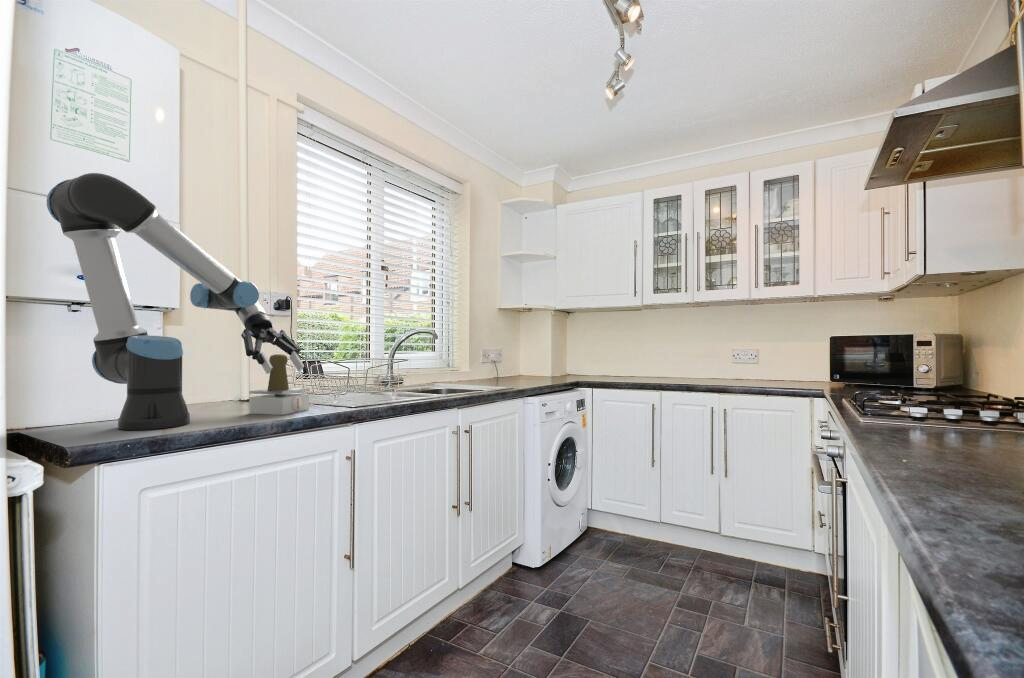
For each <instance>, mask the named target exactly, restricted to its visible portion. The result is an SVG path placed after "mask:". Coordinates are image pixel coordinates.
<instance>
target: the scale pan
mask: <svg viewBox="0 0 1024 678" xmlns="http://www.w3.org/2000/svg"><path fill="white" fill-rule="evenodd" d="M309 391H310V388H309V387H289V390H278V391H270V390H268V388H263V389H255V390H249V391H248V393H249V395H250V394H251V395H268V394H281V395H283V394H290V393H292V394H298V393H303V392H309Z"/></svg>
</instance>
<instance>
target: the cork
mask: <svg viewBox="0 0 1024 678" xmlns="http://www.w3.org/2000/svg"><path fill="white" fill-rule="evenodd" d="M268 360H269V362H270V364H271V365H272V367H273V368H272V370H271V371H270V373H269V376H268V377H269V378H268V384H267V389H268V390H270V391H278V390H289V388H290V387H289V379H288V373H287V367H286V366H287V363H288V357H287V355H286V354H282V353H281V354H279V353H278V354H277V353H275V354H272V355H270V357H269V359H268Z"/></svg>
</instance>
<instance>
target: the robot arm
mask: <svg viewBox="0 0 1024 678" xmlns="http://www.w3.org/2000/svg"><path fill="white" fill-rule="evenodd" d="M46 208H47V210H48V213H49V214H50V215H51V217H52V218H53V219H54V220H55V221H57V222H58V223H59V224H60V228H61V231H62V234H63V236H65V237H67V238H68V239H70V240H72V242H73V245H74V248H75V252H76V255H77V259H78V262H79V266H80V270H81V274H82V277H83V281H84V284H85V287H86V292H87V295H88V299H89V302H90V305H91V306H90V307H91V309H92V313H93V317H94V320H95V323H96V327H97V331H98V333H97V334H95V336H94V337H93V340H92V341H93V344H94V348H95V351H94V353H92V357H91V364H92V367H93V369H94V372H95V373H96V374H97V375H98V376H99V377H101V378H102V379H103V380H106V381H108V382H111V383H115V384H118V385H119V384H120V385H121V384H124V385H126V399H125V402H124V404H123V407H122V409H121V413H120V416H119V417H118V419H117V421H118V422H117V430H118V429H119V430H124V431H145V430H147V431H148V430H157V429H167V428H174V427H180V426H185V425H188V424H190V423H191V414H190V412H189V409H188V407H187V403H186V401H185V399H184V395H183V355H184V350H183V344H182V341H181V340H180V339H178V338H176V337H170V336H162V335H149V334H148V331H147V330H146V329H144V328H143V327H141V326H139V324H138V323H139V322H138V319H137V316H136V312H135V309H134V304H133V300H132V296H131V293H130V288H129V284H128V281H127V277H126V274H125V270H124V266H123V262H122V258H121V255H120V251H119V246H118V243H117V239H116V238H117V236H118V235H119V234H120V233H121V230H123V231H124V232H125V233H132V234H135V235H136V236H138V237H139V238H141V240H142V241H144V242H146V243H147V244H149V245H150V246H151V247H153V248H154V249H155V250H156V251H157V252H159V253H161V254H162V255H163V256H164V257H166V258H167V259H169V260H170V261H171V262H172V263H174V265H176V266H178V267H179V268H181V269H182V270H183V271H185V272H186V273H187V274H189V275H190V276H191V277H193V278H194V279H195V280H197V281H198V283H195V284H194V285H193V286H192V288H191V290H190V295H189V296H190V297H189V299H190V302H191V304H192V305H193V306H194V307H197V308H201V309H203V310H205V309H210V310H211V309H212V310H223V311H230V312H231V311H232V312H235V313H236V315H237V316H238V319H239V320H240V321H241V323H242V325H243V326H244V329H243V331H242V332H241V335H240V336H241V338H242V340H243V343H244V344H243V345H244V350H245V355H246V356H247V357H251V359H252V360H254V361H255V360H256V362H257V363H258V364H259V365H261V367H262V369H263V370H264V372H265V374H266V375H270V371H271V370H272V368H273V367H272V365H271V364H270V362H269V359H268V357H267V356H266V354H265V352H264V351H262V352H261V349H262V346H263V345H262V344H264V343H265V344H266V343H269V344H271V345H272V346H276V347H278V348H279V349H280V350H282V351H283V352H285V353H286V354H287V355H289V359H290V360H291V362H292V364H293V365H294V368H295V369H296V370H297V372H298V373H300V372H302V370H303V369H304V367H305V365H304V363H303V361H302V358H301V357H300V355H299V354H300V352H301V351H302V348H301V347H300V346H299V345H298V344H297V343H296V342H295V341H293V339H291V337H290V336H289V335H287V334H286V332H285V330H284V329H281V330H280V331H276V330H275V329H274V328H273V323H272V321H271V319H270V317H269V316H268V315H267V312H266V311H265V310H264V308H263V306H261V304H260V302H259V299H260V291H259V289H258V287H257V286H256V284H254V282H251V281H244V280H243V281H242V280H241V279H239V278H238V277H237V276H236V275H235V274H233V273H232V272H231V271H230V270H229V269H227V268H226V267H225V266H224V265H222V264H221V263H220V262H218V261H217V260H216V259H215V258H214V257H212V256H211V255H210V254H208V253H207V252H206V251H205V250H204V249H202V248H201V247H200V246H199V245H198V244H196V243H195V242H194V241H193V240H191V238H189V237H188V236H186V234H184V233H183V232H182V231H180V230H179V229H178V228H176V227H175V226H174V225H173V224H172V223H171V222H169V221H168V220H167V219H165V218H164V217H163V216H162V215H161V214H160V213H158V212H157V211H158V210H157V206H156V205H155V204H153V203H152V202H151V201H150V200H149V199H148V198H147V197H145V196H144V195H143V194H141V192H139V191H137V190H136V189H134V188H133V187H132V186H130V185H129V184H126V183H125V182H124V181H122V180H120V179H118V178H117V177H114V176H111V175H107V174H105V173H100V172H90V173H89V172H88V173H85V174H82V175H79V176H77V177H74V178H70V179H65V180H63V181H61V182H59V183H57V184H56V185H55V186H54V187H52V188H51V189H50V190H49V192H48V194H47V196H46ZM199 282H200V283H199ZM252 338H253V339H255V342H254V343H253V339H252ZM253 344H254V345H253Z"/></svg>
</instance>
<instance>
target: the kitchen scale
mask: <svg viewBox="0 0 1024 678" xmlns="http://www.w3.org/2000/svg"><path fill="white" fill-rule="evenodd" d="M248 399H249V403H248V405H249V406H248V407H249V411H248V413H249V414H250V415H251V414H252V415H253V414H255V415H258V414H259V415H281V416H284V415H289V414H294V413H300V412H303V411H309V410H310V394H309V393H290V394H283V395H281V394H260V395H256V396H255V395H254V396H249V397H248Z"/></svg>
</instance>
